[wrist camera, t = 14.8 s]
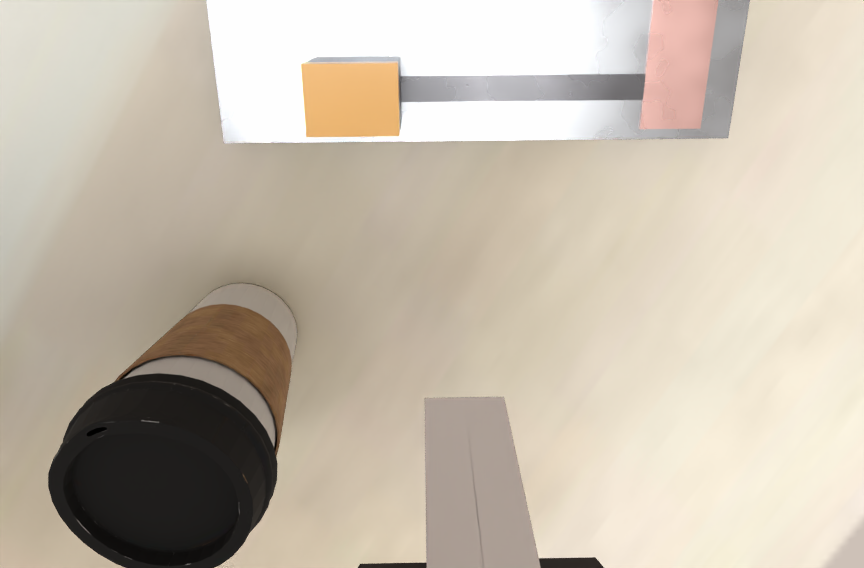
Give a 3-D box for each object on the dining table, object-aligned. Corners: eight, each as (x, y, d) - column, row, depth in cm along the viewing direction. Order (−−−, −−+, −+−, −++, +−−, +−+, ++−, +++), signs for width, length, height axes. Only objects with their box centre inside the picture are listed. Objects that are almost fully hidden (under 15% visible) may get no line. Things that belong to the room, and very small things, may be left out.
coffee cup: (278, 239, 37) (193, 378, 23) (343, 365, 40) (302, 554, 26) (144, 292, 38) (-15, 456, 24) (217, 411, 41) (113, 617, 27)
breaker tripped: (319, 122, 33) (306, 137, 29) (314, 57, 32) (300, 64, 28) (401, 121, 33) (399, 136, 29) (400, 56, 32) (397, 62, 28)
